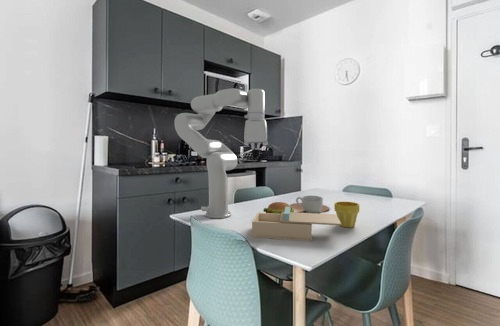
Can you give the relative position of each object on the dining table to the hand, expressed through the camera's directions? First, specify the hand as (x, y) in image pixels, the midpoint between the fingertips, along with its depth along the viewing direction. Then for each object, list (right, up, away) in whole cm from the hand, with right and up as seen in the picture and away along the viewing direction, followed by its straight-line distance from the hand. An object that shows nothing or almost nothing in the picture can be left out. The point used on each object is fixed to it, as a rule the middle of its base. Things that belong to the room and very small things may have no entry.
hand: (255, 158), depth 122 cm
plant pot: (+40, -30, -3) cm, 50 cm away
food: (+11, -29, +8) cm, 32 cm away
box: (+10, -30, -14) cm, 35 cm away
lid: (+20, -24, -17) cm, 35 cm away
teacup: (+29, -28, +22) cm, 46 cm away
